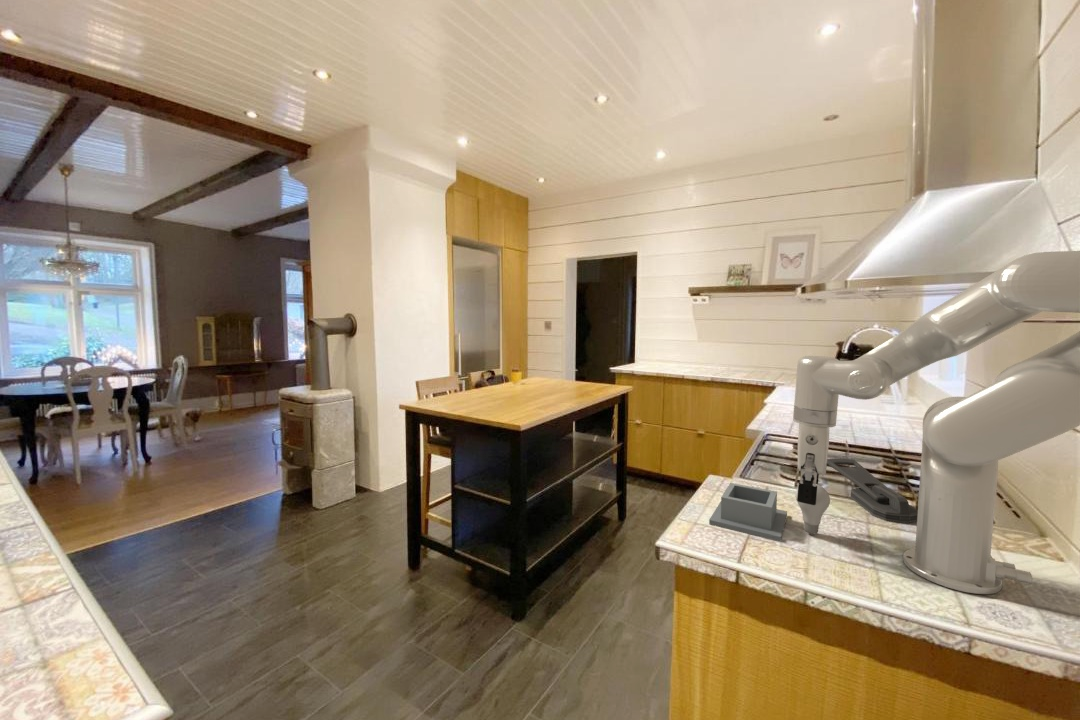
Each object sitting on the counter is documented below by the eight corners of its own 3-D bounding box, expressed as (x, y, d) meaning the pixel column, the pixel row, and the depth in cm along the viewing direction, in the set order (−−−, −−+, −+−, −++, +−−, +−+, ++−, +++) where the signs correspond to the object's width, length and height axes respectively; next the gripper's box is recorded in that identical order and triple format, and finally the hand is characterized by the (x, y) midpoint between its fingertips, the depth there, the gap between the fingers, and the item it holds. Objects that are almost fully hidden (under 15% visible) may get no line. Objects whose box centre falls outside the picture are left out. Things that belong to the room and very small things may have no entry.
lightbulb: (815, 544, 86) (817, 491, 85) (787, 530, 92) (789, 481, 91) (835, 537, 89) (837, 486, 88) (806, 524, 94) (808, 476, 93)
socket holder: (786, 515, 99) (787, 490, 98) (780, 541, 87) (781, 513, 87) (722, 501, 107) (723, 478, 106) (709, 524, 95) (709, 498, 95)
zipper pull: (855, 458, 118) (928, 495, 93) (854, 481, 119) (926, 524, 94) (821, 457, 119) (884, 494, 94) (820, 480, 119) (883, 523, 95)
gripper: (836, 428, 79) (828, 515, 81) (836, 410, 93) (829, 485, 95) (789, 421, 83) (783, 505, 85) (796, 405, 97) (790, 477, 99)
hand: (807, 494), depth 90 cm, fingers open, 9 cm apart
